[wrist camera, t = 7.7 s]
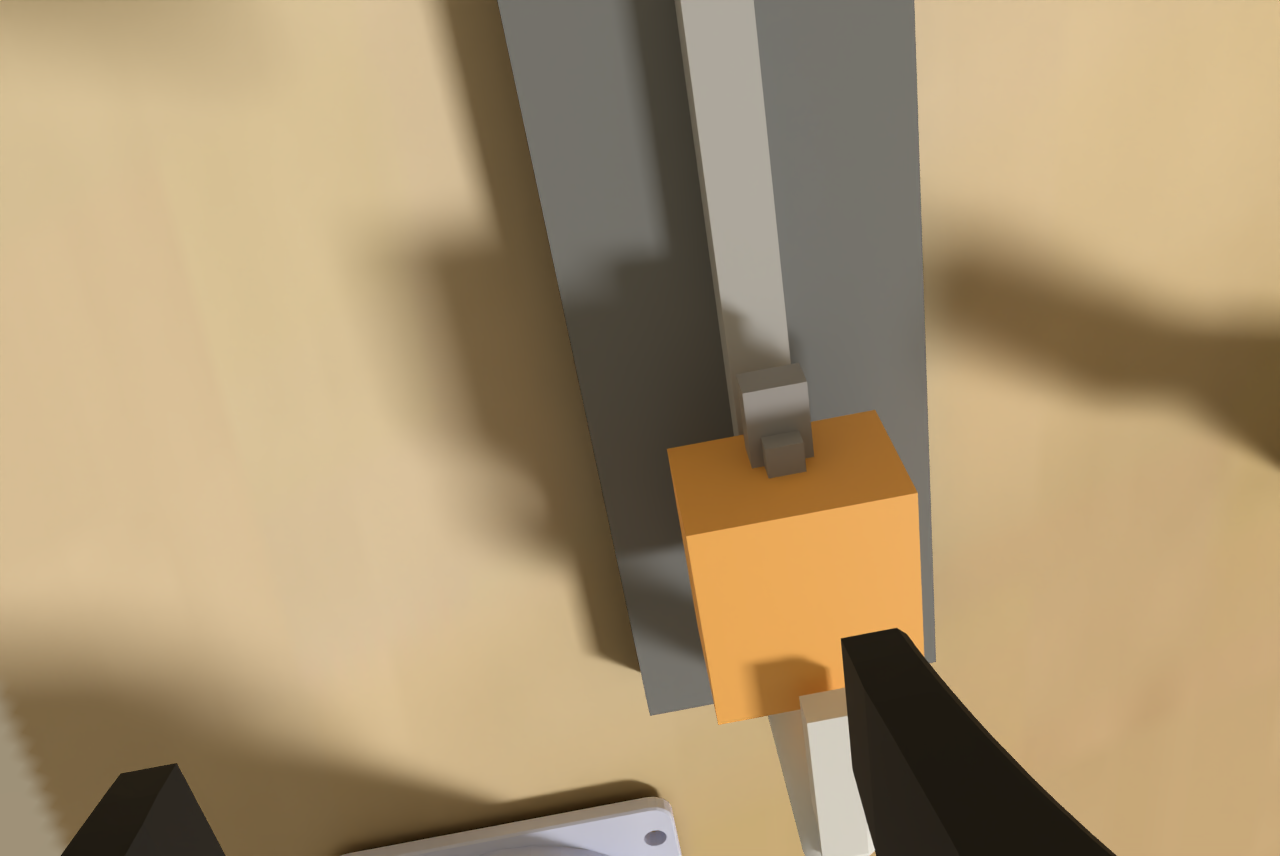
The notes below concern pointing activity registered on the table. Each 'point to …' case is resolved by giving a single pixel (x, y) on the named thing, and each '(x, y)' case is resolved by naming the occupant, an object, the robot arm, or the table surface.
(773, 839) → the table surface
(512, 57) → the linear slider rail
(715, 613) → the orange cube with peg
